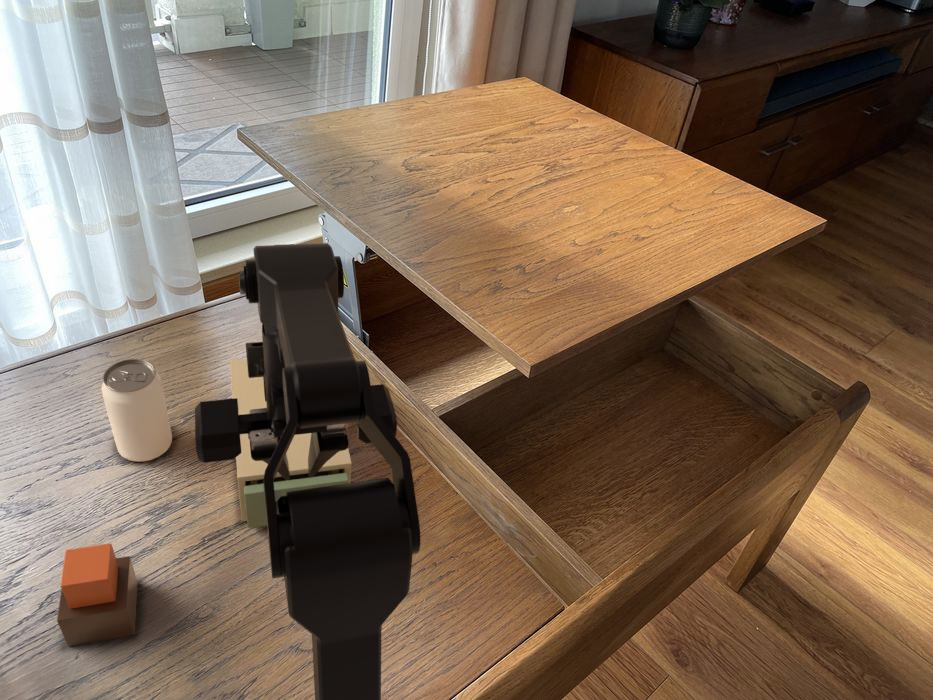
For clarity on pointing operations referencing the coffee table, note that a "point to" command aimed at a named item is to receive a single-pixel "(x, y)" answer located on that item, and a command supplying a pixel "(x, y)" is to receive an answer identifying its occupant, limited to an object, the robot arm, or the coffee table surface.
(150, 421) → the can
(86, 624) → the brown cube
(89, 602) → the block
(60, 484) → the coffee table surface
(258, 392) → the cabinet
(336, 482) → the drawer
